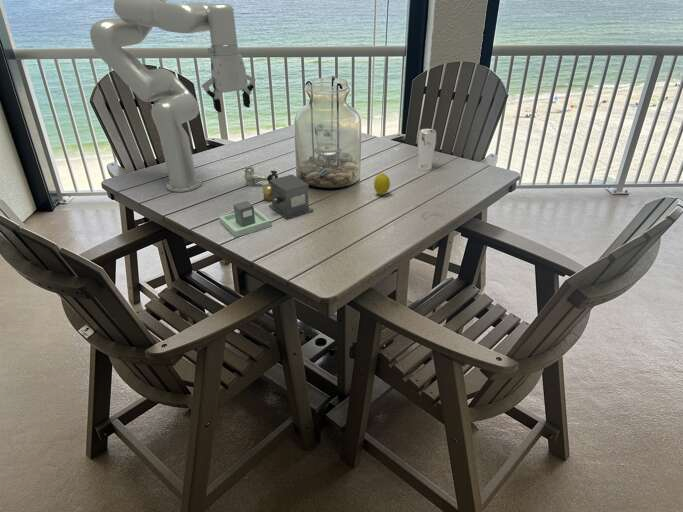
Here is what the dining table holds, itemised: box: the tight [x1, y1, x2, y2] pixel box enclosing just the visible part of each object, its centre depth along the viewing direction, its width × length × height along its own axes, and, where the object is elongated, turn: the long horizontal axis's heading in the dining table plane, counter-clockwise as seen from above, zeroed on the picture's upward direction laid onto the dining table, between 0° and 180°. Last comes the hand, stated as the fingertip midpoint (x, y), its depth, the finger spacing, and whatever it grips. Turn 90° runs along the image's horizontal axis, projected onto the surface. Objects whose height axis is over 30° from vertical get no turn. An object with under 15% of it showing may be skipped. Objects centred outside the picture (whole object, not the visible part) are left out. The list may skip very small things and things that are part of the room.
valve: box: [243, 166, 279, 188], centre depth 167 cm, size 7×7×12 cm
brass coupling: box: [262, 183, 272, 203], centre depth 157 cm, size 4×4×5 cm
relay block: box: [233, 200, 255, 227], centre depth 140 cm, size 5×4×6 cm
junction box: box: [268, 174, 314, 220], centre depth 149 cm, size 12×11×10 cm
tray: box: [218, 207, 273, 238], centre depth 142 cm, size 12×12×2 cm
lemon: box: [373, 172, 391, 196], centre depth 159 cm, size 6×6×8 cm
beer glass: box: [416, 128, 437, 171], centre depth 179 cm, size 7×7×15 cm
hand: (232, 109), depth 145 cm, fingers open, 9 cm apart
